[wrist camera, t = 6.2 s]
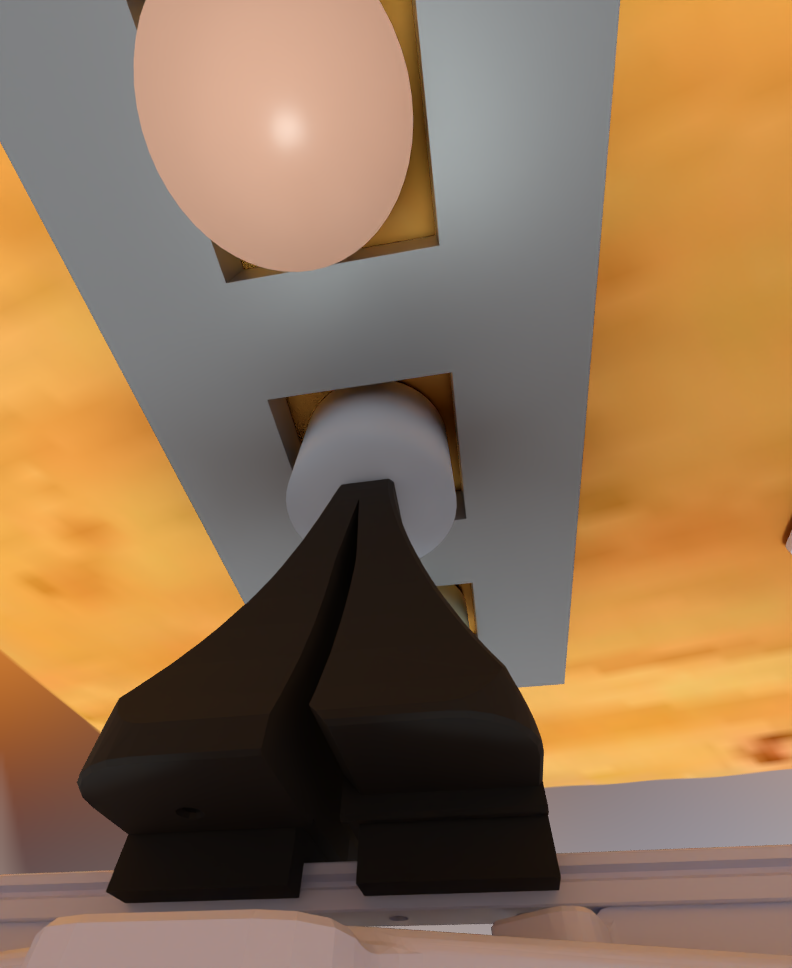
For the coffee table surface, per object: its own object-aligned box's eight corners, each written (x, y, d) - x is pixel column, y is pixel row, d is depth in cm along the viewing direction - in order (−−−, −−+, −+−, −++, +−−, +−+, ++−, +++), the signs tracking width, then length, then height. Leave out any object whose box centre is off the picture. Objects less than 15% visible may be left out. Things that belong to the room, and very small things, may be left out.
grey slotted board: (611, -309, 7) (652, -400, 6) (555, 653, 22) (564, 683, 20) (-76, -111, 8) (-156, -153, 7) (303, 674, 23) (298, 704, 22)
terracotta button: (392, -41, 9) (387, -121, 6) (422, 226, 11) (428, 249, 9) (168, 12, 9) (75, -40, 7) (247, 258, 12) (201, 289, 9)
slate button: (438, 368, 13) (447, 422, 11) (453, 491, 16) (463, 559, 13) (289, 390, 14) (262, 447, 11) (326, 507, 16) (311, 575, 14)
